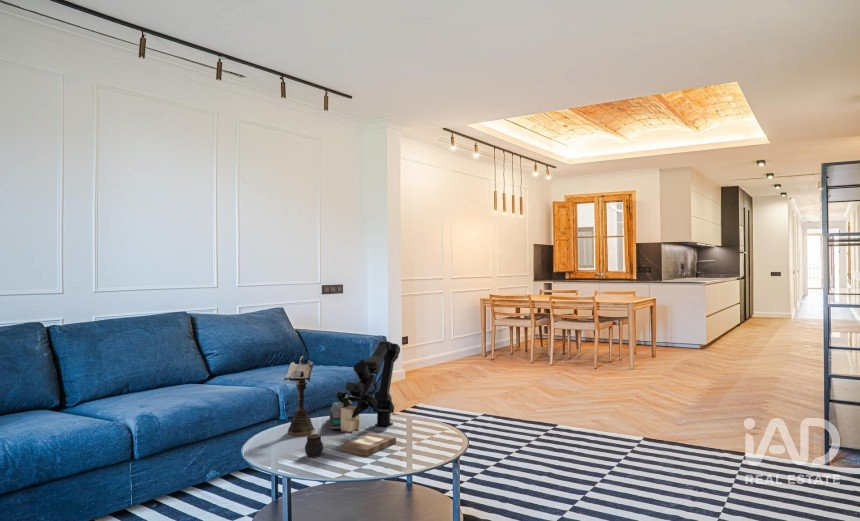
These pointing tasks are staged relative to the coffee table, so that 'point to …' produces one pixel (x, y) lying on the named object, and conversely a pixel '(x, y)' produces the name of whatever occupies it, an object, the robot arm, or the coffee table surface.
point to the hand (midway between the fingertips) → (347, 416)
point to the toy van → (335, 415)
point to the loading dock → (368, 444)
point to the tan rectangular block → (349, 420)
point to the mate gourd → (313, 445)
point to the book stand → (300, 398)
